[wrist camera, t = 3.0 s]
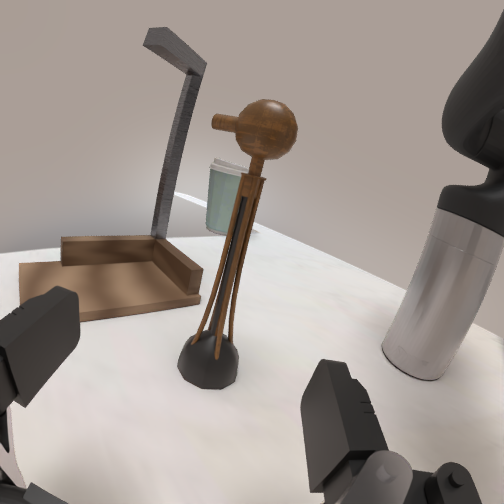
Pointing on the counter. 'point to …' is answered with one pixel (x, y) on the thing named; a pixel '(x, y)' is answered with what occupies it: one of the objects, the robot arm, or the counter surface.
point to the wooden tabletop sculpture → (236, 240)
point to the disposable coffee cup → (222, 194)
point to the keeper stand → (132, 247)
